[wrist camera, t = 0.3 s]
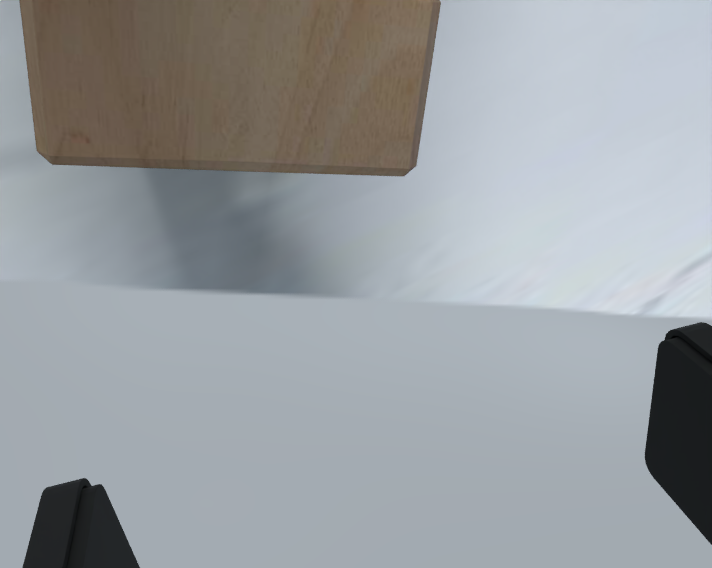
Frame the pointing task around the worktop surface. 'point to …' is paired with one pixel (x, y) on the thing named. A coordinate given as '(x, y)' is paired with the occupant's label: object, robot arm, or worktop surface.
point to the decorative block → (231, 83)
